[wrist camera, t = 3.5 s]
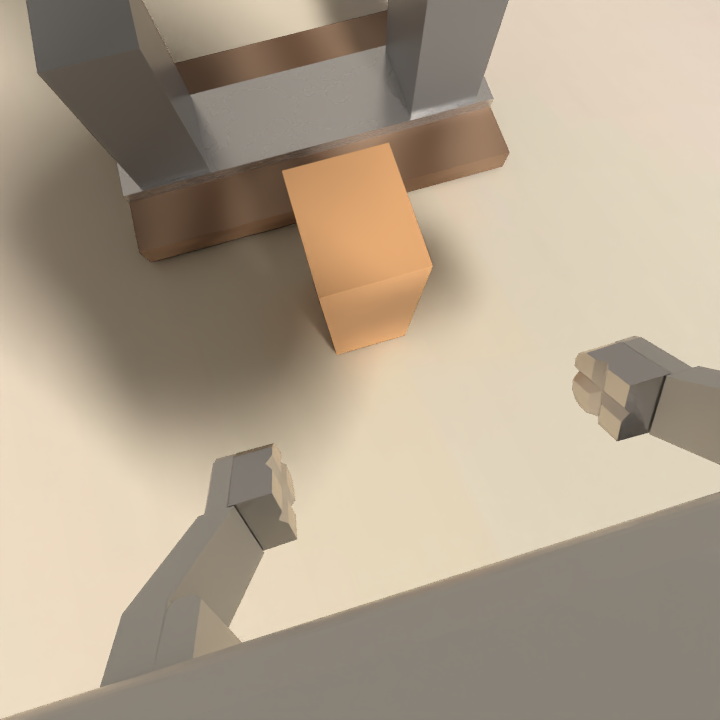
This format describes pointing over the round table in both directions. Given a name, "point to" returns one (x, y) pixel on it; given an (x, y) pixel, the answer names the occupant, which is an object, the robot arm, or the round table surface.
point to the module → (360, 244)
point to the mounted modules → (172, 100)
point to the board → (267, 185)
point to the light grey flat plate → (299, 116)
